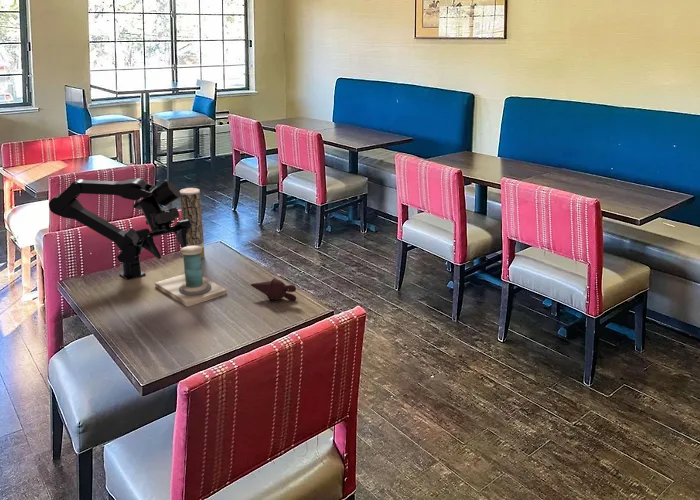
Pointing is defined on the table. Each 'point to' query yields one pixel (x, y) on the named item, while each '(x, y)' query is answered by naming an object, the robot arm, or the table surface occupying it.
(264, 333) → the table surface
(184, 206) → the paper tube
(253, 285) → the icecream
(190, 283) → the bobbin
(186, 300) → the stand board
